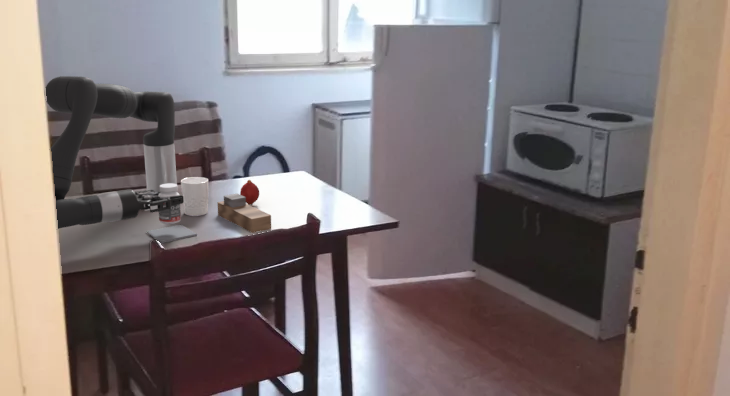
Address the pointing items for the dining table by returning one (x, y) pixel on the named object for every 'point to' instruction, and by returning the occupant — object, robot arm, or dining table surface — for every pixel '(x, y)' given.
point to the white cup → (195, 195)
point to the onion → (250, 192)
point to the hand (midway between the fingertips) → (177, 196)
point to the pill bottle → (174, 213)
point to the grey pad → (171, 233)
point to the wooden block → (243, 214)
